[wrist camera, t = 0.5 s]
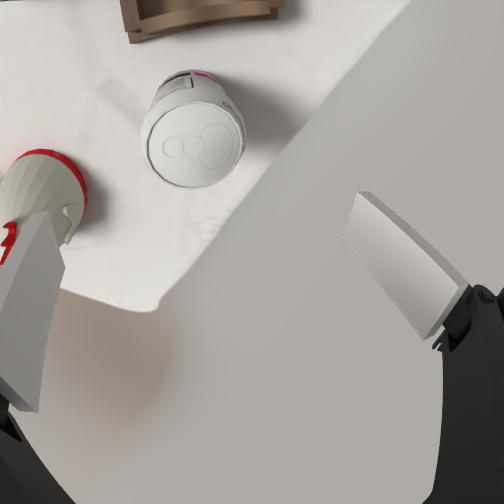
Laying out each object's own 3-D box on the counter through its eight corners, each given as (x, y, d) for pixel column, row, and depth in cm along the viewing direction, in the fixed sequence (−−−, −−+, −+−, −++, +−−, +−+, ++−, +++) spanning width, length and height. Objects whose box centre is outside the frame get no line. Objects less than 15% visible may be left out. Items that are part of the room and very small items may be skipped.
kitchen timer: (11, 225, 33) (-24, 299, 23) (5, 145, 25) (-54, 210, 15) (85, 237, 39) (65, 318, 28) (92, 155, 31) (53, 227, 20)
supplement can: (227, 70, 28) (258, 95, 17) (220, 133, 34) (243, 196, 23) (156, 69, 26) (136, 94, 15) (154, 134, 32) (140, 198, 21)
